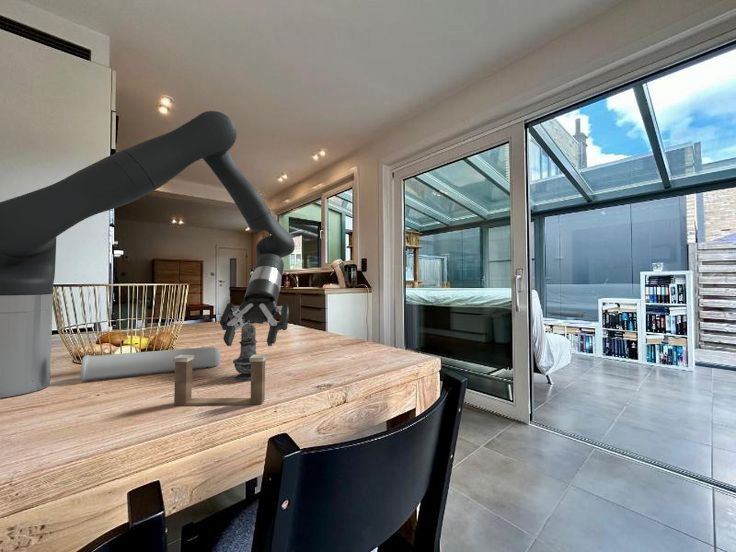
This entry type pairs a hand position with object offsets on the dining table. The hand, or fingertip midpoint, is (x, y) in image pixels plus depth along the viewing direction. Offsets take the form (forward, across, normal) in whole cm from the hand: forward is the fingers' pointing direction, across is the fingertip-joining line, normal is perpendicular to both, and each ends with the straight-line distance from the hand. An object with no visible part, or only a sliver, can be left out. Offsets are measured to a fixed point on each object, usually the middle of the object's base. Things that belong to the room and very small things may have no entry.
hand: (248, 344), depth 66 cm
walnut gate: (+15, 0, -5) cm, 16 cm away
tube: (+2, -21, +8) cm, 22 cm away
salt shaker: (+5, 0, +5) cm, 7 cm away
